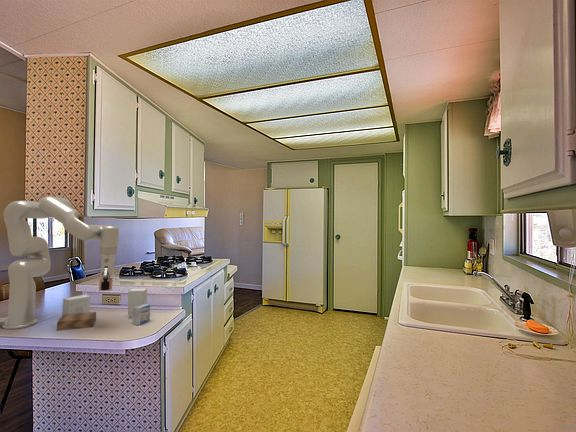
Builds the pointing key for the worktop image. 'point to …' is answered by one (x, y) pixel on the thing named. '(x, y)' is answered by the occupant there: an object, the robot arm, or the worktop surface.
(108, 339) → the worktop surface
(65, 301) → the skincare box
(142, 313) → the medicine box
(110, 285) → the terracotta cube
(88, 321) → the walnut stand
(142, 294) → the skincare box
